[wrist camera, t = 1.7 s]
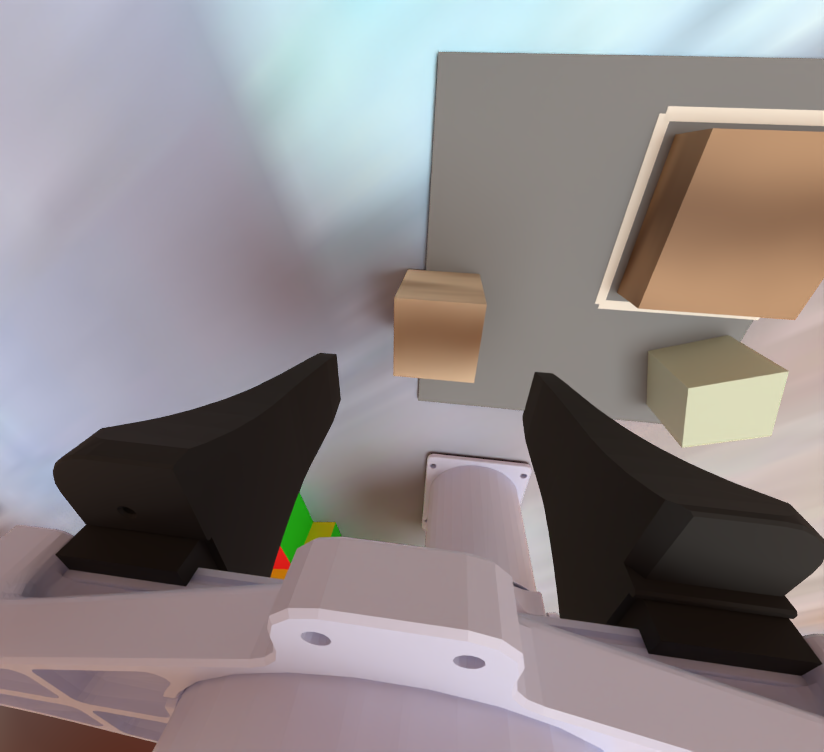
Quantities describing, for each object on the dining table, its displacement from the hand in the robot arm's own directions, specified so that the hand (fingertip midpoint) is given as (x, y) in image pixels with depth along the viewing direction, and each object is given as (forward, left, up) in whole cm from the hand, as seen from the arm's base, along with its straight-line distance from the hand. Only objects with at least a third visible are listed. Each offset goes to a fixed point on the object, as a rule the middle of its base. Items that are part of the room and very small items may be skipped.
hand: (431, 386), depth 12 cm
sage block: (-3, -15, -9) cm, 18 cm away
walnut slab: (+5, -13, -9) cm, 16 cm away
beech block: (0, 0, -9) cm, 9 cm away
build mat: (+2, -8, -9) cm, 12 cm away
